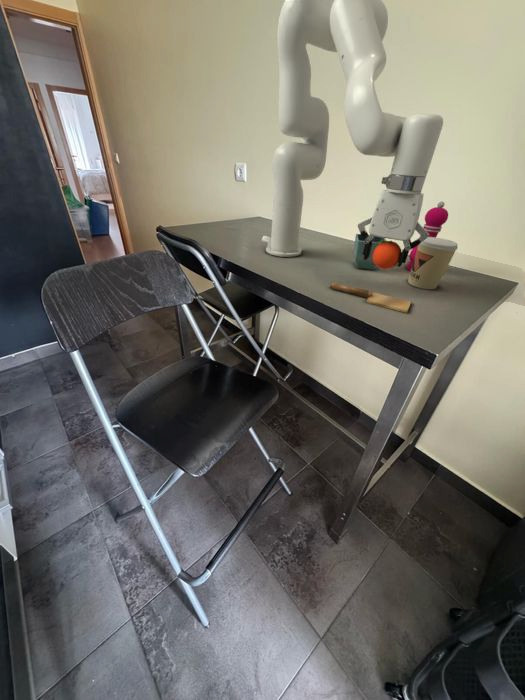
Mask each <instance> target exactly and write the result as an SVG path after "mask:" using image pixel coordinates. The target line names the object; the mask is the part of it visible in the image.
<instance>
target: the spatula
mask: <svg viewBox="0 0 525 700" xmlns="http://www.w3.org/2000/svg"><path fill="white" fill-rule="evenodd" d="M329 287H330V288H331V289H332V290H335V291H339V292H342V293H346V294H350V295H355V296H358V297H361V298H366V303H367V304H371V305H374V306H379V307H383V308H387V309H389V310H394V311H398V312H401V313H405V314H408V311H409V309H410V306H411V303H412V301H409V300H406V299H402V298H397V297H393V296H390V295H385V294H382V293H377V292H372V291H371V290H368V289H364V288H360V287H355V286H351V285H348V284H343V283H340V282H335V281H333V282H331V283H330V286H329Z"/></svg>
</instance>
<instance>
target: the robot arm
mask: <svg viewBox="0 0 525 700" xmlns="http://www.w3.org/2000/svg"><path fill="white" fill-rule="evenodd" d="M388 24H389V14H388V10H387V6H386V4H385V3H384V2H383V0H284V2H283V4H282V7H281V9H280V13H279V17H278V22H277V29H276V30H277V31H276V47H277V59H278V71H279V72H278V77H279V78H278V126H279V130H280V132H281V133H282V134H283V135H285V136H287V137H291V138H299V139H300V138H301V139H302V142H296V141H287V142H284V143H281V144H280V145H278V146H277V148H276V149H275V151H274V154H273V157H272V171H273V204H272V205H273V207H272V220H271V236H268V235H263V236H262V238H261V243H264V244H267V245H266V248H265V252H266V253H268V254H269V255H271V256H275V257H281V258H295V257H298V256H301V255H302V249H301V247H299V238H300V230H301V221H302V213H303V205H304V190H303V185H302V181H312V180H313V181H314V180H316V179H317V178H319V177H320V176H321V175H322V174H323V172H324V170H325V166H326V163H327V162H326V161H327V153H328V142H329V132H330V131H329V130H330V113H329V108H328V106H327V104H326V102H325V101H324V100H322V99H321V98H320V97H315V96H312V95H311V82H312V81H311V80H312V68H311V67H312V66H311V62H310V57H309V54H308V50H307V44H308V45H311V46H314V47H316V48H319V49H322V50H324V51H327V52H332V53H337V56H338V60H339V62H340V65H341V68H342V71H343V75H344V78H345V81H346V84H347V85H346V89H345V94H344V102H343V103H344V104H343V115H344V119H345V123H346V126H347V130H348V133H349V136H350V139H351V141H352V143H353V145H354V147H355V149H356V150H357V151H358V152H359V153H360V154H362V155H364V156H372V157H373V156H375V157H384V158H385V157H386V158H389V157H391V158H392V157H394V158H393V161H392V165H391V170H390V174H388V176H382V178H381V185H385V188H386V189H382V190H381V193H380V194H379V196H378V199H377V202H376V205H375V208H374V210H373V214H372V216H371V217H369V218H367V219H365V220H363V221H361V222H360V223H358V224H357V228H358V231H359V234H360V235H361V236H362V238H363V240H364V243H365V247H364V251H363V255H364V260H366V259H368V258H369V255H370V251H371V248H372V247H371V246H372V244H373V243H372V239H373V238H374V237H375V236H376V237H382V238H385V239H388V240H393V241H394V240H395V241H401V242H402V244H403V246H404V247H403V249H401V252H402V253H401V256H400V259H399V262H398V263H397V264H396V266H397V267H399V268H400V267H402V265H403V264H406V262H407V259H408V257H409V254H410V252H411V250H412V249H413V248H414V247H416V246H418V245H419V244H420V243H421V242H423V241H424V240H425V239H426V238H428V236H429V233H428V232H427V231H426V230H425V229H424V226H422V225H421V224H420V223H419V220H420V215H421V211H422V207H423V202H424V195H425V194H424V193H422V191H423V188H424V185H425V183H426V179H427V175H428V172H429V169H430V165H431V163H432V160H433V157H434V155H435V151H436V148H437V145H438V142H439V139H440V137H441V136H440V135H441V132H442V129H443V127H444V118H443V117H442V116H441V115H439V114H437V113H436V114H435V113H416V114H415V113H414V114H411V115H408V116H407V117H405V116H402V115H401V116H400V115H396V114H393V113H388V112H383V110H382V108H381V105H380V102H379V98H378V96H377V91H376V86H375V81H376V80H378V78H379V77H380V76H381V74H382V73H383V72H384V69H385V68H386V65H387V53H386V50H385V47H384V43H383V40H384V38H385V36H386V33H387V30H388V26H389V25H388ZM368 225H369V227H368V228H369V229H368V231H367V230H366V226H368ZM415 231H416V232H417V233H418V234H419V237H418V238H416V239H415V240H413V241H412V240H411V239H412V238H413V235H414V234H415Z"/></svg>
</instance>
